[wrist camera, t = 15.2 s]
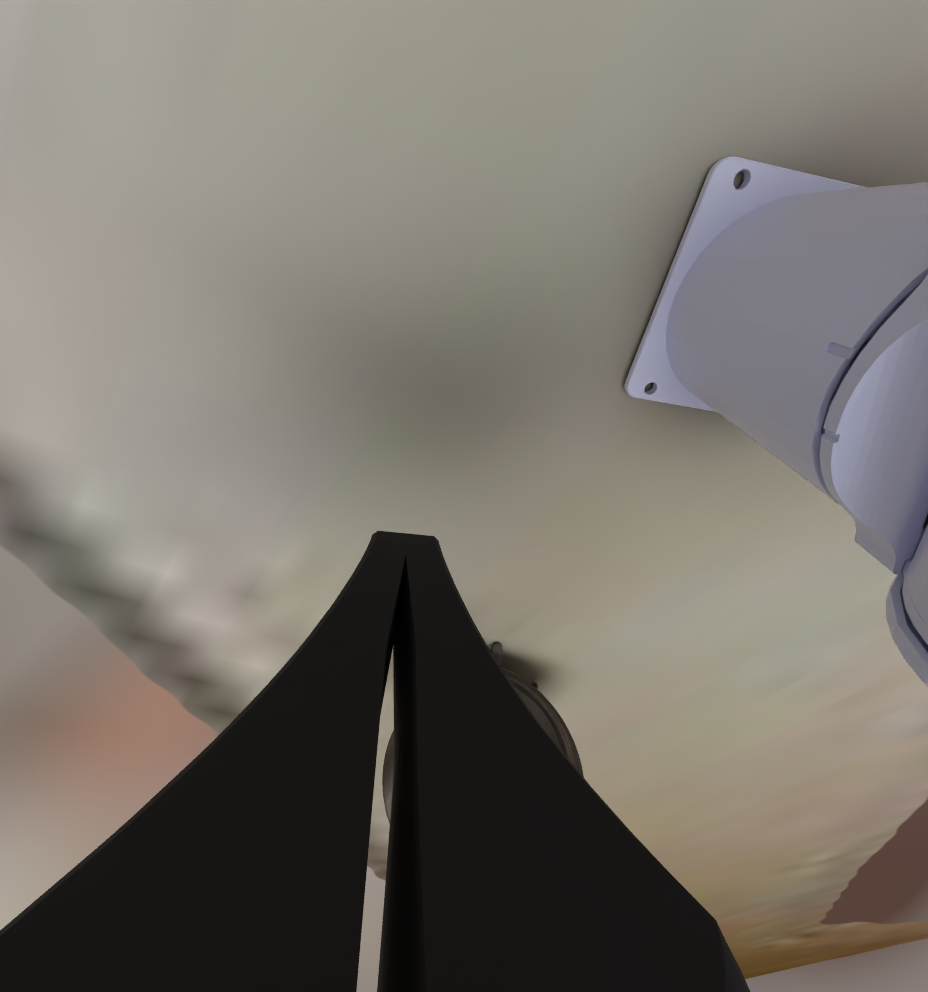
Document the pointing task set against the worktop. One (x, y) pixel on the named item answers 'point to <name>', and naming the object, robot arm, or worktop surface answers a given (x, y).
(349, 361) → the worktop surface
